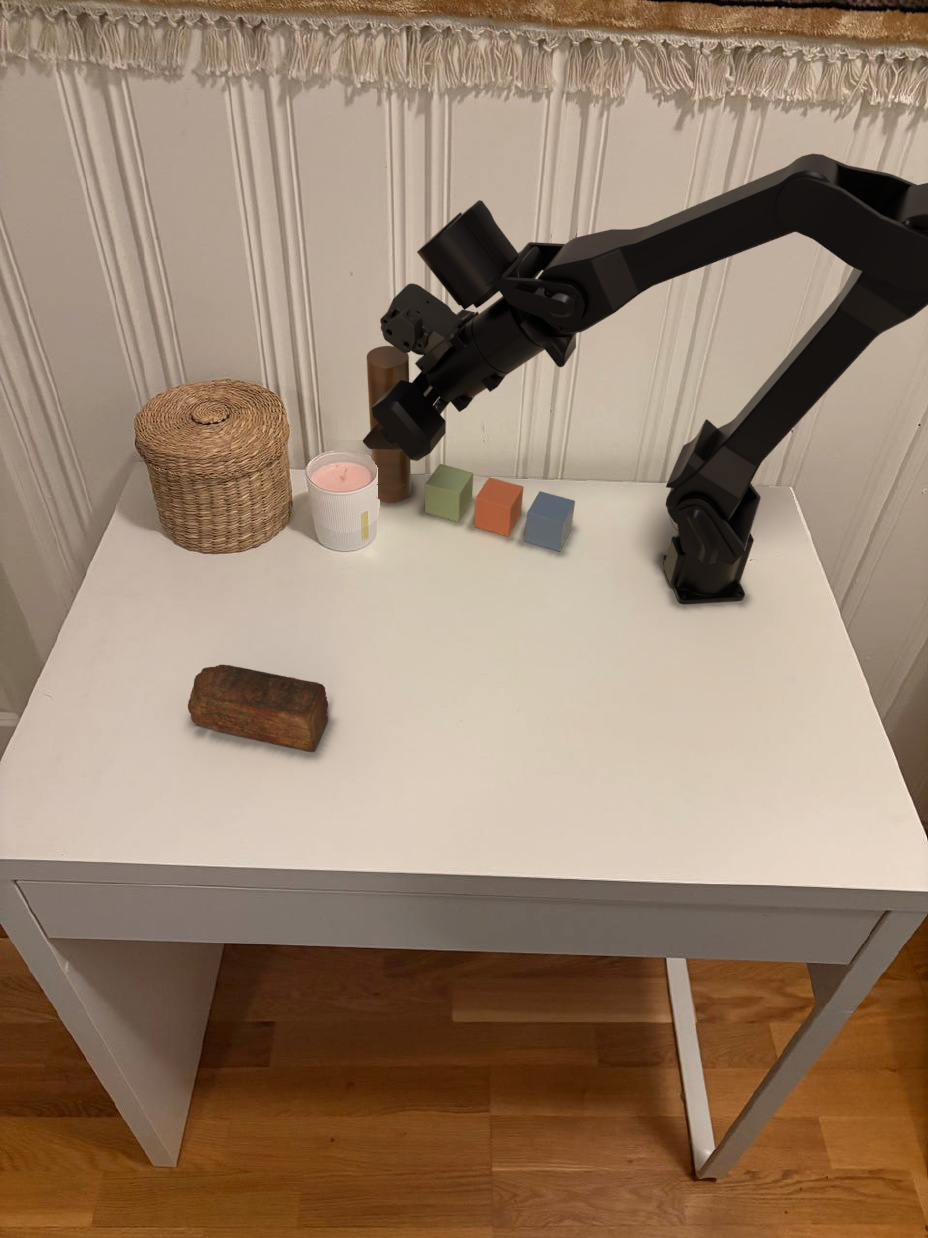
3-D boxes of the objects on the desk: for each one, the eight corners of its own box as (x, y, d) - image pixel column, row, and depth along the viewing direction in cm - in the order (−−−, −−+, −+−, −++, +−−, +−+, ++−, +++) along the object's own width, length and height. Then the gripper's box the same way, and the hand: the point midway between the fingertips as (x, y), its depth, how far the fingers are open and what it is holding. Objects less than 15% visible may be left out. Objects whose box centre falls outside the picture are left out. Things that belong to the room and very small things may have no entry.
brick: (330, 717, 78) (326, 681, 74) (314, 755, 75) (309, 719, 71) (212, 692, 79) (202, 656, 76) (192, 728, 76) (181, 692, 73)
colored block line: (571, 529, 95) (575, 500, 93) (559, 551, 93) (563, 522, 90) (439, 492, 99) (439, 463, 96) (424, 512, 97) (424, 483, 94)
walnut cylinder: (417, 485, 100) (415, 351, 88) (401, 506, 97) (397, 371, 86) (383, 475, 101) (378, 341, 89) (366, 496, 98) (359, 361, 87)
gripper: (477, 226, 85) (374, 313, 96) (389, 316, 73) (283, 404, 84) (550, 323, 89) (443, 397, 100) (477, 424, 77) (365, 495, 88)
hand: (387, 419), depth 93 cm, fingers open, 9 cm apart
